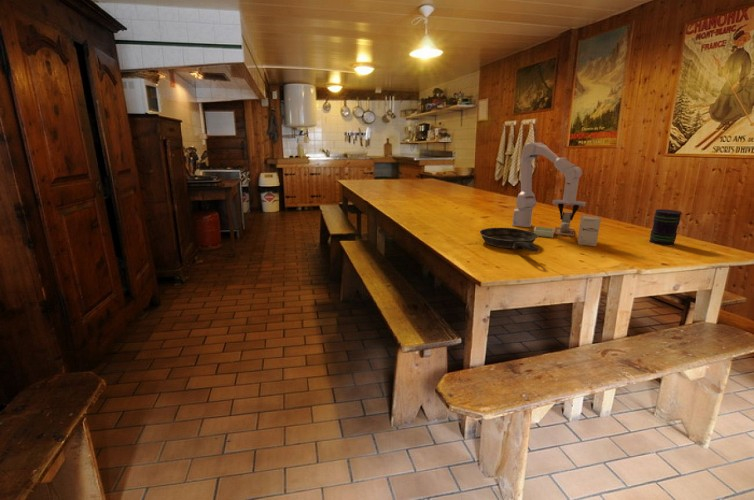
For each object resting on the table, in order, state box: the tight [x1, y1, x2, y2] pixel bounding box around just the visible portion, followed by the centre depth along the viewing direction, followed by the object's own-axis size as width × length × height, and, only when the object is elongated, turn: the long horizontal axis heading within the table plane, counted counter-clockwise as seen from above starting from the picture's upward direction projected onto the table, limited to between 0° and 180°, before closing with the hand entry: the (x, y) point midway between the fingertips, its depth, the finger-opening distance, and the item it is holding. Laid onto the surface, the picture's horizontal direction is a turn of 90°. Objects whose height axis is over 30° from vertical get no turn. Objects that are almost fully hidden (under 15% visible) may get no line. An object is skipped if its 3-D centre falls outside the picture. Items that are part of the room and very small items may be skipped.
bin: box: [532, 226, 555, 239], centre depth 199 cm, size 9×9×3 cm
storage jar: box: [649, 209, 682, 247], centre depth 184 cm, size 10×10×15 cm
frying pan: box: [479, 227, 539, 252], centre depth 172 cm, size 44×25×7 cm, turn 179°
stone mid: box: [560, 222, 571, 233], centre depth 203 cm, size 4×4×4 cm
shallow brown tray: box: [553, 226, 575, 238], centre depth 204 cm, size 9×16×1 cm, turn 155°
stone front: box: [561, 211, 572, 223], centre depth 197 cm, size 4×4×4 cm
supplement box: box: [576, 214, 602, 247], centre depth 181 cm, size 7×7×13 cm
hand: (566, 219), depth 198 cm, fingers closed on stone front, 4 cm apart
